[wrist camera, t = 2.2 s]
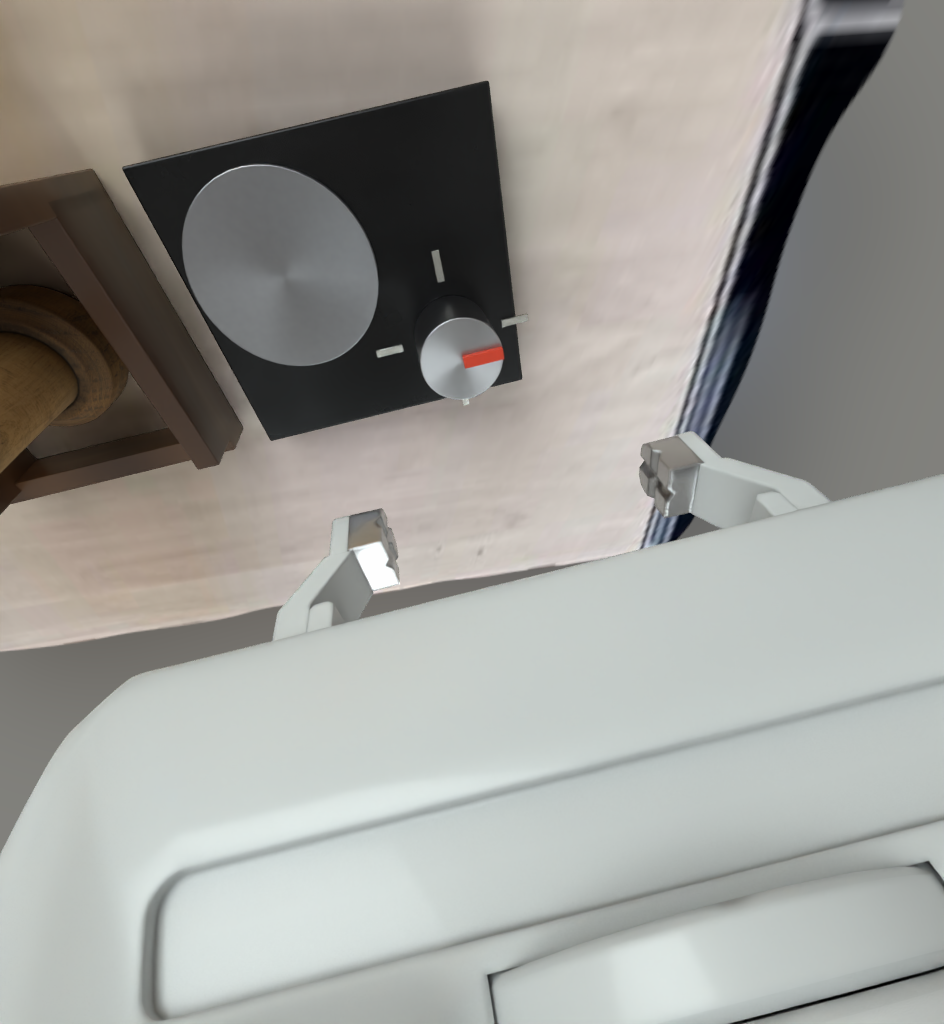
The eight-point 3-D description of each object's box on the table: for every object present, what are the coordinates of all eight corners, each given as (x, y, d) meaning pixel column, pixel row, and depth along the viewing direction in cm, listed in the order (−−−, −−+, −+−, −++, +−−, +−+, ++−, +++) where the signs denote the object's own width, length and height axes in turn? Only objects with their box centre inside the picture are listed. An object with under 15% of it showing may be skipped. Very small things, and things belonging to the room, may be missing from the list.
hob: (282, 424, 30) (274, 451, 27) (147, 161, 21) (118, 167, 18) (521, 366, 30) (534, 388, 27) (489, 81, 21) (504, 76, 19)
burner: (243, 379, 25) (241, 383, 24) (140, 189, 19) (136, 190, 19) (399, 342, 25) (399, 344, 24) (342, 141, 19) (341, 142, 19)
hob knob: (424, 379, 26) (431, 411, 23) (405, 305, 23) (410, 331, 21) (494, 361, 26) (509, 392, 23) (482, 286, 24) (498, 310, 21)
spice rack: (33, 479, 29) (-68, 589, 22) (-210, 239, 20) (-497, 300, 14) (243, 428, 29) (206, 521, 23) (92, 168, 21) (-43, 193, 14)
